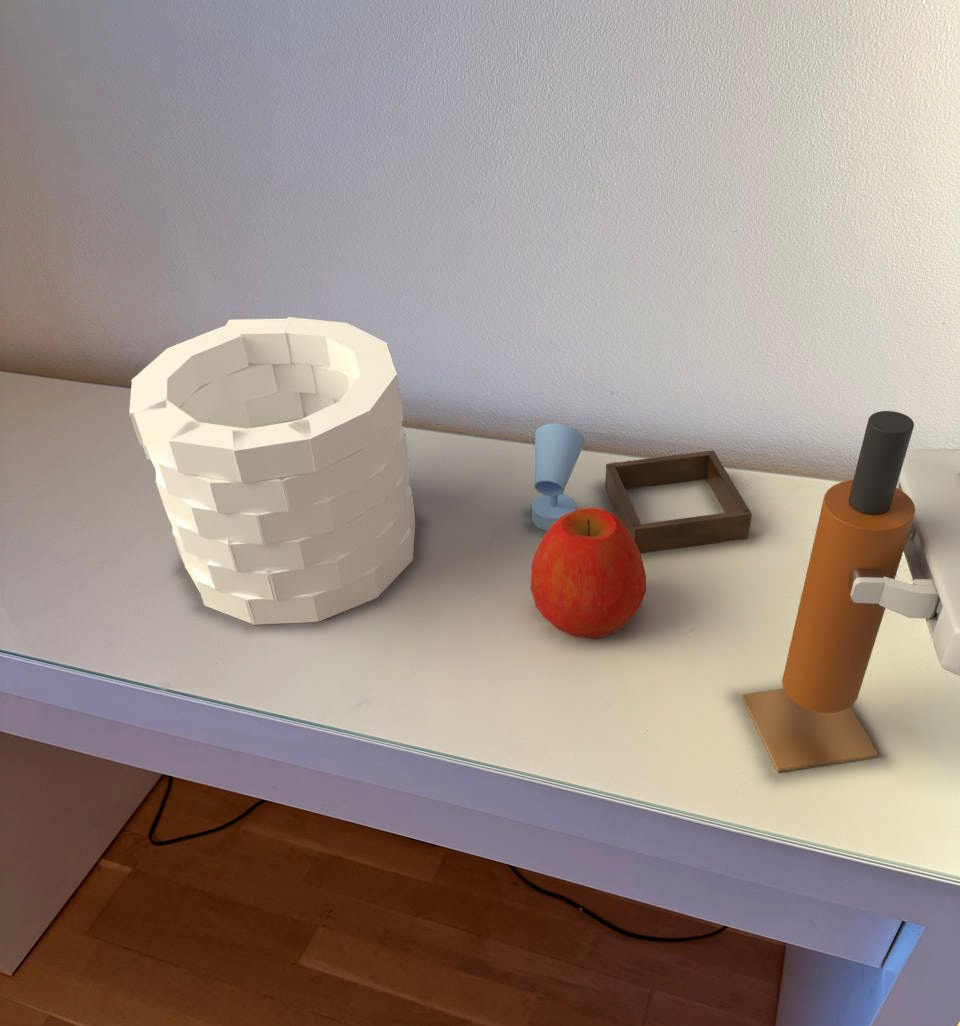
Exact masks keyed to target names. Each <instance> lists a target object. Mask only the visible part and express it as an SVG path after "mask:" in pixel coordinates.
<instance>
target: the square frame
mask: <svg viewBox="0 0 960 1026" xmlns="http://www.w3.org/2000/svg"><path fill="white" fill-rule="evenodd" d="M604 479H605V480H604V481H605V482H604V488H605V491H606V493H607V496H608V499H609V500H610V502H611V505H612V508H613V510H614V512H615V515H616V516H617V517H618V518H619V519H620V521H621V522H622V523H623V524H624V526H625V527H626V528H627V529H628V531H629V532H630V534H631V536H632V537H633V539H634V541H635V543H636V545H637V547H638V549H639V551H640V553H641V554H644V553H651V552H652V553H653V552H660V551H668V550H673V549H681V548H689V547H695V546H703V545H710V544H711V545H712V544H718V543H725V542H733V541H741V540H748V539H749V535H750V531H751V530H750V529H751V524H752V518H753V513H752V511H751V510H750V508H749V506H748V504H747V503H746V501H745V500H744V498H743V496H742V495H741V493H740V491H739V489H738V488H737V486H736V485H735V483H734V481H733V480H732V478H731V477H730V475H729V473H728V471H727V469H726V468H725V467H724V465H723V463H722V461H721V460H720V458H719V457H718V455H717V453H716V452H715V450H713V449H712V450H711V449H710V450H704V451H703V450H702V451H696V452H689V453H687V452H686V453H681V454H671V455H666V456H656V457H649V458H641V459H633V460H626V461H618V462H617V461H616V462H610V463H609V462H608V463H606V464H605V478H604ZM699 480H706V482H707V484H708V486H709V487H710V488H711V490H712V492H713V494H714V496H715V498H716V499H717V501H718V502H719V504H720V507H721V508H722V510H723V511H724V512H720V513H713V514H705V515H698V516H697V515H696V516H690V517H689V516H688V517H682V518H675V519H674V518H673V519H668V520H661V521H653V522H645V523H641V521H640V519H639V517H638V514H637V512H636V510H635V508H634V505H633V503H632V501H631V499H630V497H629V495H628V491H627V490H631V489H638V488H645V487H646V488H647V487H651V486H652V487H653V486H660V485H668V484H676V483H677V484H678V483H684V482H691V481H699Z"/></svg>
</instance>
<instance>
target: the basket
mask: <svg viewBox="0 0 960 1026" xmlns="http://www.w3.org/2000/svg"><path fill="white" fill-rule="evenodd" d="M398 380H399V379H398V373H397V371H396V368H395V365H394V362H393V359H392V355H391V353H390V349H389V343H388V342H386V341H384V340H382V339H380V338H378V337H376V336H375V335H372V334H370V333H368V332H367V331H364V330H363V329H361V328H359V327H356V326H354V325H353V324H350V323H348V322H342V321H332V320H324V319H323V320H321V319H312V318H303V317H292V316H287V317H286V318H245V319H242V318H241V319H239V318H238V319H228V320H227V322H226V324H225V325H223V326H220V327H218V328H215V329H213V330H210V331H207V332H205V333H203V334H200V335H198V336H195V337H192V338H190V339H186V340H185V341H182V342H179V343H177V344H174V345H172V346H170V347H169V346H168V347H167V348H166V349H165V350H163V352H161V353H160V354H159V355H158V356H156V358H154V359H153V360H152V361H151V362H150V363H149V364H148V365H147V366H145V367H144V368H143V369H142V370H141V371H140V372H139V373H138V374H137V375H135V376H134V377H132V378H131V380H130V382H131V387H130V398H129V399H130V400H129V409H128V410H129V411H128V413H129V417H130V421H131V423H132V426H133V429H134V432H135V435H136V438H137V441H138V444H139V446H142V448H143V452H144V454H145V458H146V460H150V461H151V463H152V465H153V467H154V469H155V484H156V487H157V490H158V492H159V495H160V498H161V501H162V502H161V503H162V504H163V507H164V510H165V512H166V516H167V518H168V520H169V523H170V524H171V526H172V537H173V539H174V543H175V545H176V549H177V551H178V554H179V557H180V561H182V563H183V567H184V569H185V570H186V571H187V573H188V574H189V576H190V578H191V580H192V581H193V583H194V584H195V586H196V588H197V590H198V591H199V594H200V596H201V599H202V603H203V606H204V607H207V608H210V609H212V610H214V611H218V612H220V613H222V614H225V615H228V616H231V617H233V618H236V619H238V620H240V621H243V622H246V623H249V624H251V625H253V626H255V625H257V626H258V625H277V624H279V625H281V624H299V623H300V624H301V623H319V622H322V621H324V620H327V619H328V618H331V617H333V616H336V615H338V614H341V613H343V612H347V611H349V610H351V609H353V608H356V607H358V606H361V605H363V604H366V603H368V602H371V601H373V600H376V599H378V598H379V596H380V595H381V594H382V593H383V592H384V591H385V590H386V589H387V588H388V587H389V586H390V585H391V584H392V583H393V582H394V581H395V579H397V578H398V576H399V575H401V574H402V572H403V571H404V570H405V569H407V567H408V566H409V565H410V564H411V563H412V562H413V561H414V546H415V545H414V544H415V532H416V515H415V508H414V507H415V506H414V500H413V492H412V489H411V486H410V465H409V464H410V461H409V452H408V451H409V450H408V444H407V443H408V442H407V434H406V431H405V429H404V427H403V420H404V419H405V416H404V408H403V400H402V399H403V398H402V391H401V387H399V381H398Z"/></svg>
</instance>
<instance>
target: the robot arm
mask: <svg viewBox="0 0 960 1026" xmlns="http://www.w3.org/2000/svg"><path fill="white" fill-rule="evenodd" d="M896 488H898V489H900V490H901V491H903V492H904V493H906V494H907V495H908V496H909V497H910V498H911V500H912V501H913V503H914V505H915V515H914V518H913V522H912V525H911V528H910V531H909V535H908V538H907V541H906V544H905V547H904V551H903V554H904V557H905V560H906V563H907V566H908V570H909V572H910V576H911V578H912V583H909V582H905V581H901V580H898V579H896V578H895V579H891V578H888V577H885V576H884V577H883V574H882V571H881V569H876V568H873V569H868V570H866V569H864V568H857V569H854V570H853V571H852V572H851V575H850V580H849V583H848V585H849V590H850V596H851V599H852V601H853V602H855V603H869V604H879V605H880V606H883V607H885V609H887V610H890V611H892V612H895V613H897V614H899V615H901V616H904V617H906V618H909V619H925V622H926V625H927V628H928V631H929V634H930V637H931V641H932V644H933V647H934V651H935V653H936V656H937V659H938V661H939V662H938V663H939V665H940V667H941V668H942V669H944V670H945V671H947V672H949V673H951V674H954V675H956V676H958V677H960V448H927V449H926V448H924V449H923V448H921V449H911V450H907V452H906V456H905V459H904V462H903V466H902V469H901V473H900V476H899V480H898V483H897V487H896Z"/></svg>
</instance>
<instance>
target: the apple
mask: <svg viewBox="0 0 960 1026" xmlns="http://www.w3.org/2000/svg"><path fill="white" fill-rule="evenodd" d="M530 591H531V595H532V598H533V601H534V604H535V607H536V609H537V610H538V611H539V613H540V614H541V615H542V616H543V618H544V619H545V620H547V621H548V622H549V623H550V624H551V625H553V626H554V628H556V629H557V630H559V631H561V632H564V633H566V634H568V635H570V636H573V637H579V638H586V639H597V638H600V637H604V636H608V635H612V634H614V633H615V632H617V631H618V630H620V629H621V628H622V627H624V626H625V625H627V624H628V622H629V621H630V620H631V619H633V617H634V616H635V615H636V614H637V612H638V611H639V609H640V608H641V606H642V604H643V601H644V598H645V595H646V593H647V574H646V569H645V565H644V561H643V557H642V553H640V551H639V549H638V547H637V545H636V543H635V541H634V539H633V537H632V536H631V534H630V532H629V531H628V529H627V528H626V527H625V526H624V524H623V523H622V522H621V521H620V519H619V518H618V517H617V515H616V513H613V512H610V511H609V510H606V509H604V508H598V507H587V508H580V509H576V510H575V511H573V512H570V513H568V514H566V515H564V516H561V517H560V518H559V519H558V520H557V521H556V522H555V523H554V524H553V525H552V526H551V527H550V528H549V530H548V531H546V532H545V534H544V535H543V536H542V538H541V540H540V542H539V543H538V545H537V547H536V550H535V553H534V555H533V558H532V562H531V566H530Z"/></svg>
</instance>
